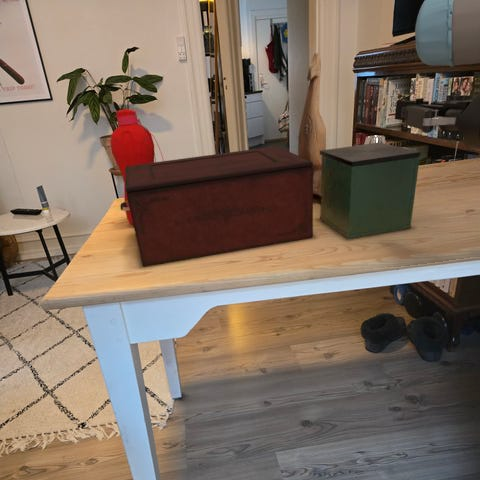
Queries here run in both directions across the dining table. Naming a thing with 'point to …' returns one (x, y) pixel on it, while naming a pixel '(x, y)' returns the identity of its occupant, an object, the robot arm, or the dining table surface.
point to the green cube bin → (368, 196)
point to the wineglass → (375, 139)
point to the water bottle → (131, 145)
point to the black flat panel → (368, 154)
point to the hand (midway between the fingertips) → (399, 109)
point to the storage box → (219, 203)
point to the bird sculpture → (313, 125)
